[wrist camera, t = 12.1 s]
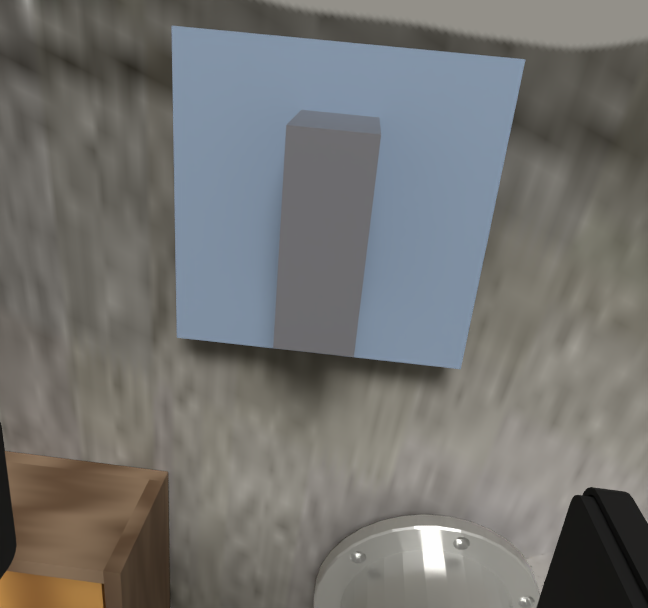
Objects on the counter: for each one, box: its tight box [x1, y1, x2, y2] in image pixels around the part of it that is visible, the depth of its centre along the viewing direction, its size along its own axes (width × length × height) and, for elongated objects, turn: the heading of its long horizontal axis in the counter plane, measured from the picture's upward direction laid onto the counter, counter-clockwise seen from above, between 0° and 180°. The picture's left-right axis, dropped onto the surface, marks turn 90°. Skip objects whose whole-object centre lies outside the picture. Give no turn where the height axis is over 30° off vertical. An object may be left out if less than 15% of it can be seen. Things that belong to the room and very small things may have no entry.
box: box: [0, 451, 170, 608], centre depth 33 cm, size 12×12×7 cm
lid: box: [172, 26, 525, 369], centre depth 23 cm, size 13×13×7 cm
